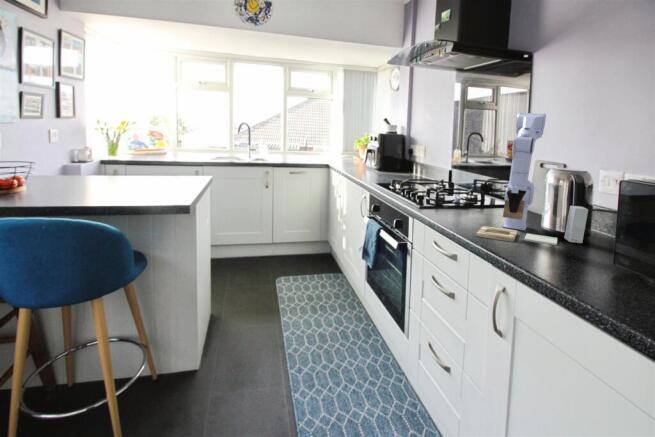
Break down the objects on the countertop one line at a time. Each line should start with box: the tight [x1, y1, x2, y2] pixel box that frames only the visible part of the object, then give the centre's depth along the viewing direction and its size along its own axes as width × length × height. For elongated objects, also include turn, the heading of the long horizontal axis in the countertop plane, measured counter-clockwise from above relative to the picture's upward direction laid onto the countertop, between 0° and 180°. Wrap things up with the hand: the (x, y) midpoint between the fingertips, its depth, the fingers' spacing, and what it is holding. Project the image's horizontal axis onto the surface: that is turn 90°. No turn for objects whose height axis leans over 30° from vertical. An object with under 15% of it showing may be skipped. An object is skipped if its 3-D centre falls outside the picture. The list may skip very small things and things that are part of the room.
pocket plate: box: [475, 225, 518, 243], centre depth 157 cm, size 14×12×1 cm
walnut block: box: [502, 199, 525, 220], centre depth 154 cm, size 4×6×6 cm, turn 61°
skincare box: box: [564, 205, 589, 244], centre depth 154 cm, size 6×4×12 cm
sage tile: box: [523, 232, 558, 246], centre depth 154 cm, size 10×10×1 cm
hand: (513, 211), depth 154 cm, fingers closed on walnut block, 4 cm apart
